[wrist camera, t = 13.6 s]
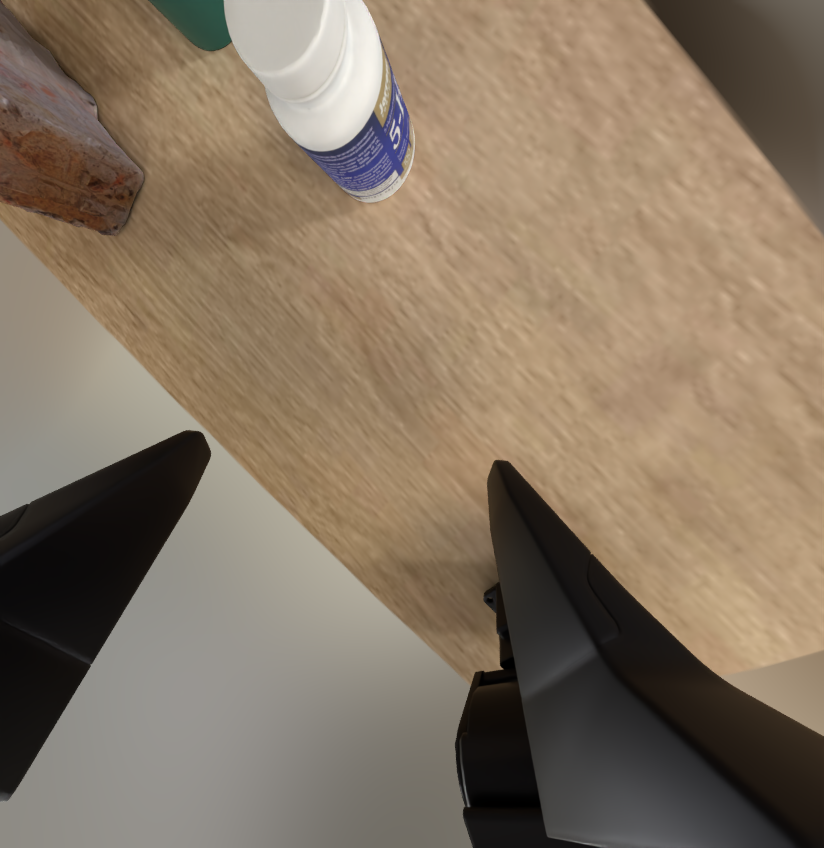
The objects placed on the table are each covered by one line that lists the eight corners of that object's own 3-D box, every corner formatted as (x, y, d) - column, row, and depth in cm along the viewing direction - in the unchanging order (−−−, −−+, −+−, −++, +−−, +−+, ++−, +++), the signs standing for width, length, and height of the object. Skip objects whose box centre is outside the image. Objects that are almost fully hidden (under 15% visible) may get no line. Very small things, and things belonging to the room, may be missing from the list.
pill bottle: (428, 178, 18) (371, 40, 9) (352, 220, 19) (247, 133, 11) (399, 75, 17) (306, -182, 8) (321, 128, 18) (181, -43, 10)
